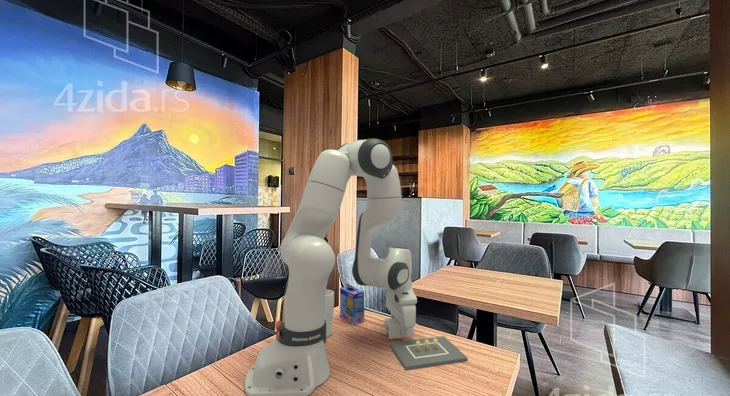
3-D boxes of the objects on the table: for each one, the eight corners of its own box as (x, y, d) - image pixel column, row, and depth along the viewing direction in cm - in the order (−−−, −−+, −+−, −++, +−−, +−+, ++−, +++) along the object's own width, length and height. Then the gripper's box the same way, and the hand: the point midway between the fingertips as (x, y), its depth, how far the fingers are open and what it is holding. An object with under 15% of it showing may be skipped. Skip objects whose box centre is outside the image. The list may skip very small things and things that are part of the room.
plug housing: (389, 339, 102) (389, 324, 102) (384, 332, 107) (384, 318, 107) (413, 336, 104) (413, 322, 104) (407, 330, 109) (408, 316, 109)
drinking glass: (330, 339, 101) (330, 296, 101) (312, 337, 102) (312, 294, 102) (336, 331, 107) (336, 290, 107) (318, 329, 109) (319, 288, 109)
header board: (405, 370, 84) (405, 356, 84) (389, 345, 97) (389, 333, 97) (467, 361, 88) (467, 347, 88) (444, 339, 102) (444, 327, 102)
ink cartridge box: (339, 317, 119) (339, 281, 119) (349, 314, 123) (350, 279, 123) (353, 325, 112) (354, 288, 112) (364, 321, 115) (365, 285, 115)
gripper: (382, 283, 115) (381, 318, 115) (401, 301, 95) (400, 344, 95) (397, 282, 116) (397, 317, 116) (419, 300, 96) (419, 342, 96)
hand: (399, 329), depth 105 cm, fingers open, 7 cm apart
